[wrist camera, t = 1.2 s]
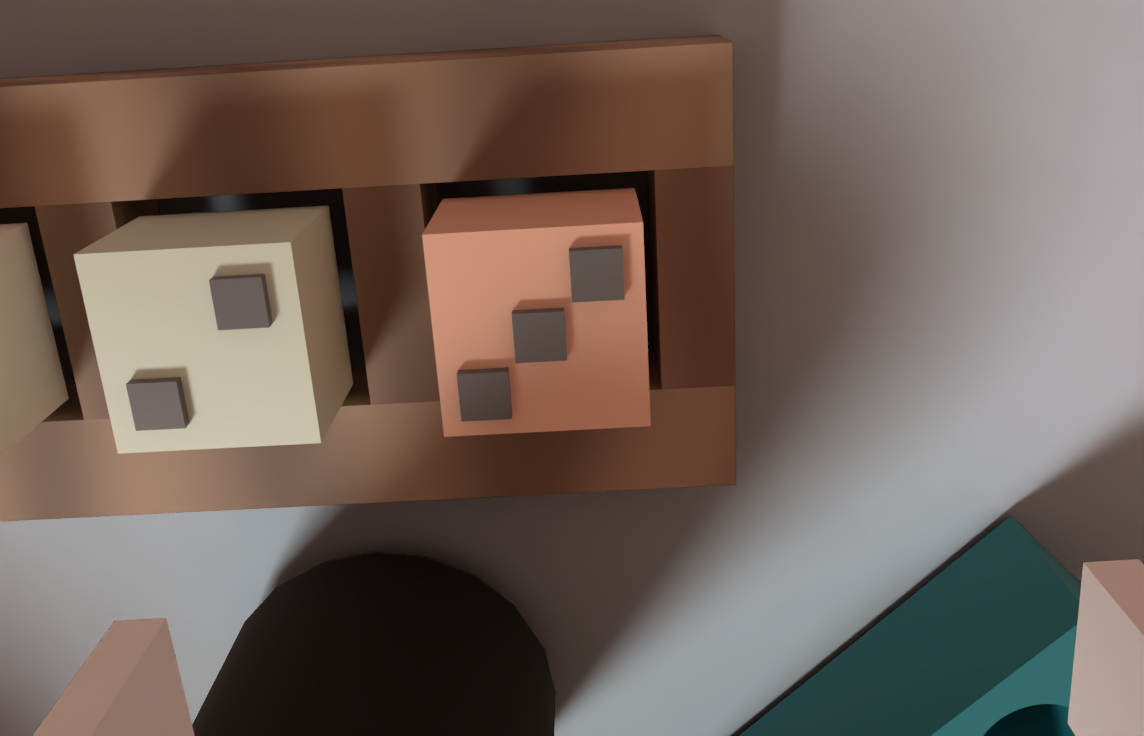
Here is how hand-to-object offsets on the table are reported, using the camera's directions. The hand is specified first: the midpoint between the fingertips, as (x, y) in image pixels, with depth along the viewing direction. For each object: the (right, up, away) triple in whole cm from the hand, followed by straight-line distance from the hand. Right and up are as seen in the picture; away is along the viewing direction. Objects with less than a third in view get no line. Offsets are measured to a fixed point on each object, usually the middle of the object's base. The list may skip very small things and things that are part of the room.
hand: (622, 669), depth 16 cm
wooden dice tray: (-9, +7, +16) cm, 20 cm away
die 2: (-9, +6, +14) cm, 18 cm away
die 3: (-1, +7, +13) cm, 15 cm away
